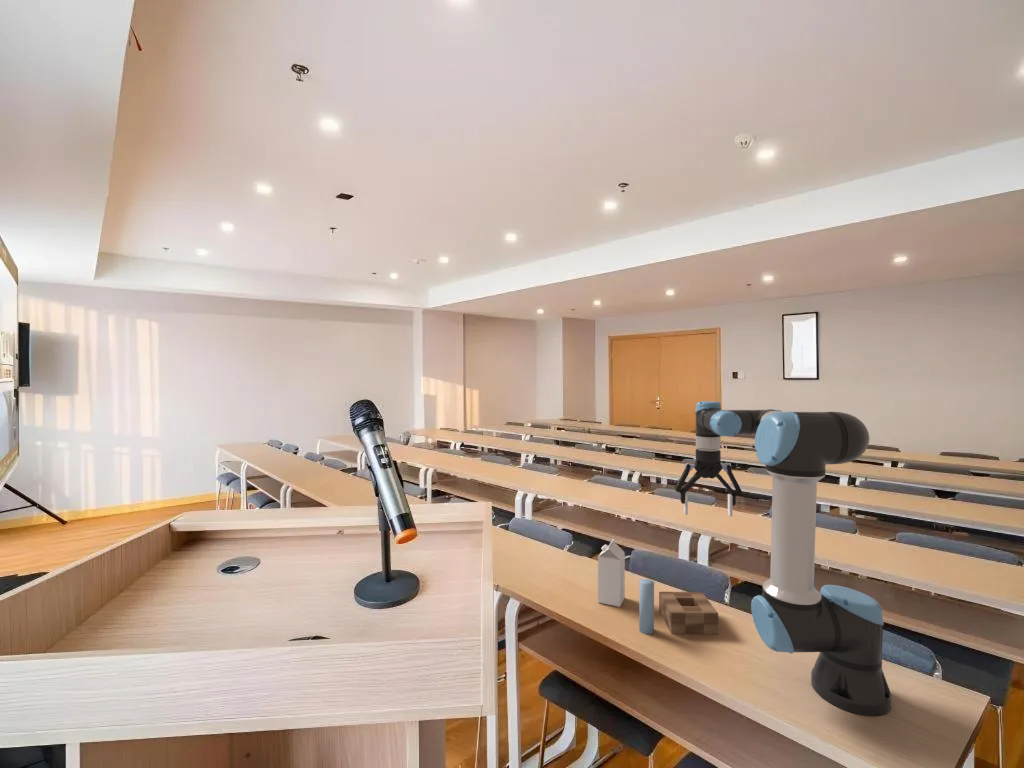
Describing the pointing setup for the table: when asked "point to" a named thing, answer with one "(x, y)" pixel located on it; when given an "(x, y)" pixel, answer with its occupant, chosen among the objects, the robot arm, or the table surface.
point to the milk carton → (611, 575)
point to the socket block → (688, 613)
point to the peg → (646, 606)
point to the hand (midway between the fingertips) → (707, 514)
